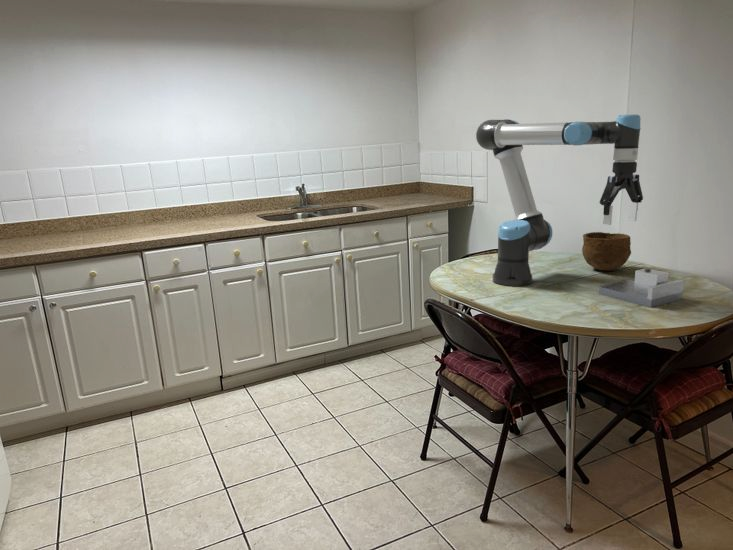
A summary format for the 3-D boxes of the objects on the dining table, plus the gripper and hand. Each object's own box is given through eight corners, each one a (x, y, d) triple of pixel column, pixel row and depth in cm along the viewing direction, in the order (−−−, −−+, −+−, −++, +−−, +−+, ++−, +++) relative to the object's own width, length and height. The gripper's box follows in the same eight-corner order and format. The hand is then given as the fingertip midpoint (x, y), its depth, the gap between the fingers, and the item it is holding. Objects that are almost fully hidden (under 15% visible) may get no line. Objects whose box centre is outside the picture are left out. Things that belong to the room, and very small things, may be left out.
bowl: (572, 266, 236) (574, 232, 232) (613, 264, 237) (616, 230, 234) (593, 276, 217) (596, 239, 214) (638, 274, 219) (641, 237, 215)
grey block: (655, 295, 181) (657, 273, 179) (633, 290, 188) (635, 268, 186) (666, 292, 184) (668, 271, 182) (644, 287, 190) (646, 266, 189)
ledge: (650, 307, 177) (652, 288, 175) (598, 293, 194) (599, 275, 192) (682, 298, 185) (684, 280, 183) (629, 286, 202) (630, 269, 200)
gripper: (610, 163, 178) (605, 227, 183) (657, 159, 189) (651, 220, 195) (591, 162, 184) (587, 224, 189) (638, 159, 196) (632, 218, 201)
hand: (619, 222), depth 192 cm, fingers open, 13 cm apart
